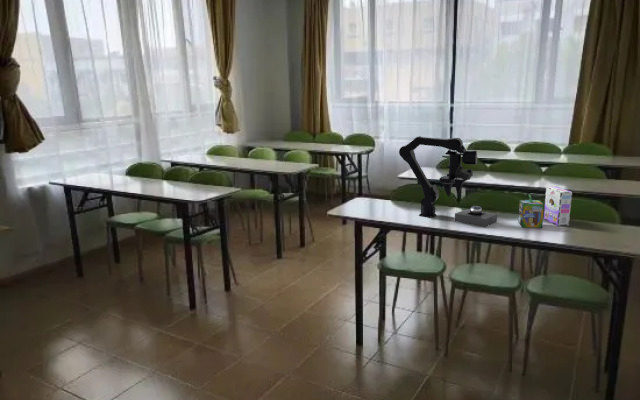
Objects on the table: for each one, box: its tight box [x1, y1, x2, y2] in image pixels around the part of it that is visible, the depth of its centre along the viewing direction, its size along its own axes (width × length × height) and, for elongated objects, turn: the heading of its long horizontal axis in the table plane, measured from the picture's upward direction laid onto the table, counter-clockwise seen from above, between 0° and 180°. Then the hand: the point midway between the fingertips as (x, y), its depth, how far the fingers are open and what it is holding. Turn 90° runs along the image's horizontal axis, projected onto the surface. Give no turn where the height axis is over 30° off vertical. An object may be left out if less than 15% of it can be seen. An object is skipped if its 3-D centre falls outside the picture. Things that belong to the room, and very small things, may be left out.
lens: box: [469, 205, 483, 216], centre depth 240 cm, size 6×6×6 cm
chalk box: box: [517, 193, 545, 229], centre depth 232 cm, size 9×9×15 cm
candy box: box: [543, 186, 573, 227], centre depth 236 cm, size 14×6×16 cm, turn 3°
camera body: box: [454, 208, 498, 228], centre depth 240 cm, size 16×12×4 cm
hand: (453, 194), depth 245 cm, fingers open, 9 cm apart
